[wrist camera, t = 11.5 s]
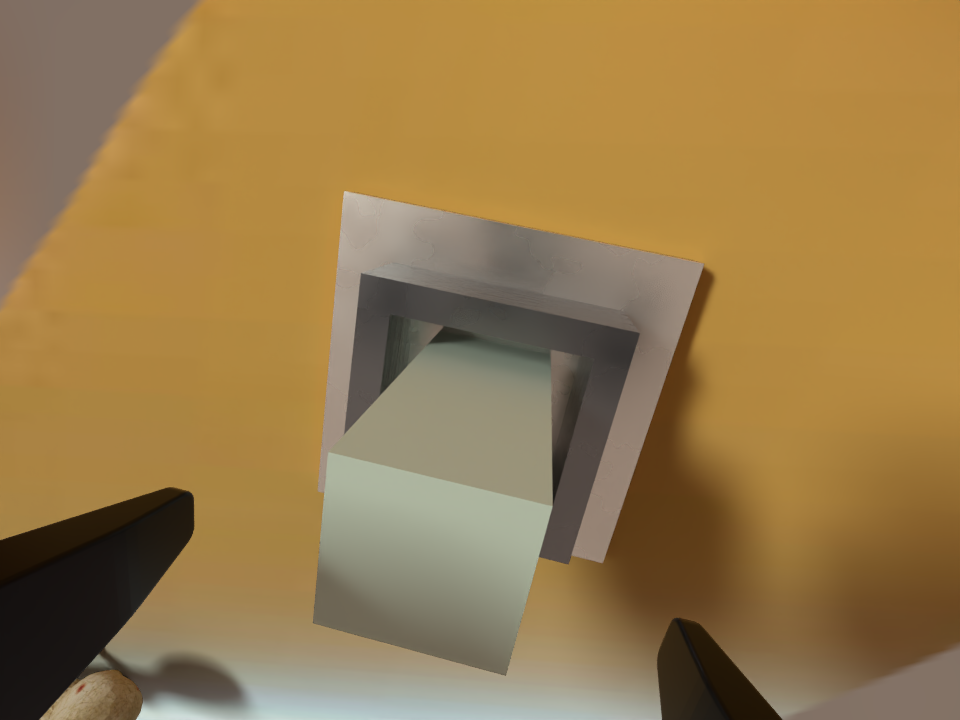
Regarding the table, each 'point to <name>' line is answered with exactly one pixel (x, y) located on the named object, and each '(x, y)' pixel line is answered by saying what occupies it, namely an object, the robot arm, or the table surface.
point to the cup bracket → (514, 336)
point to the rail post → (441, 504)
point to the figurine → (98, 699)
